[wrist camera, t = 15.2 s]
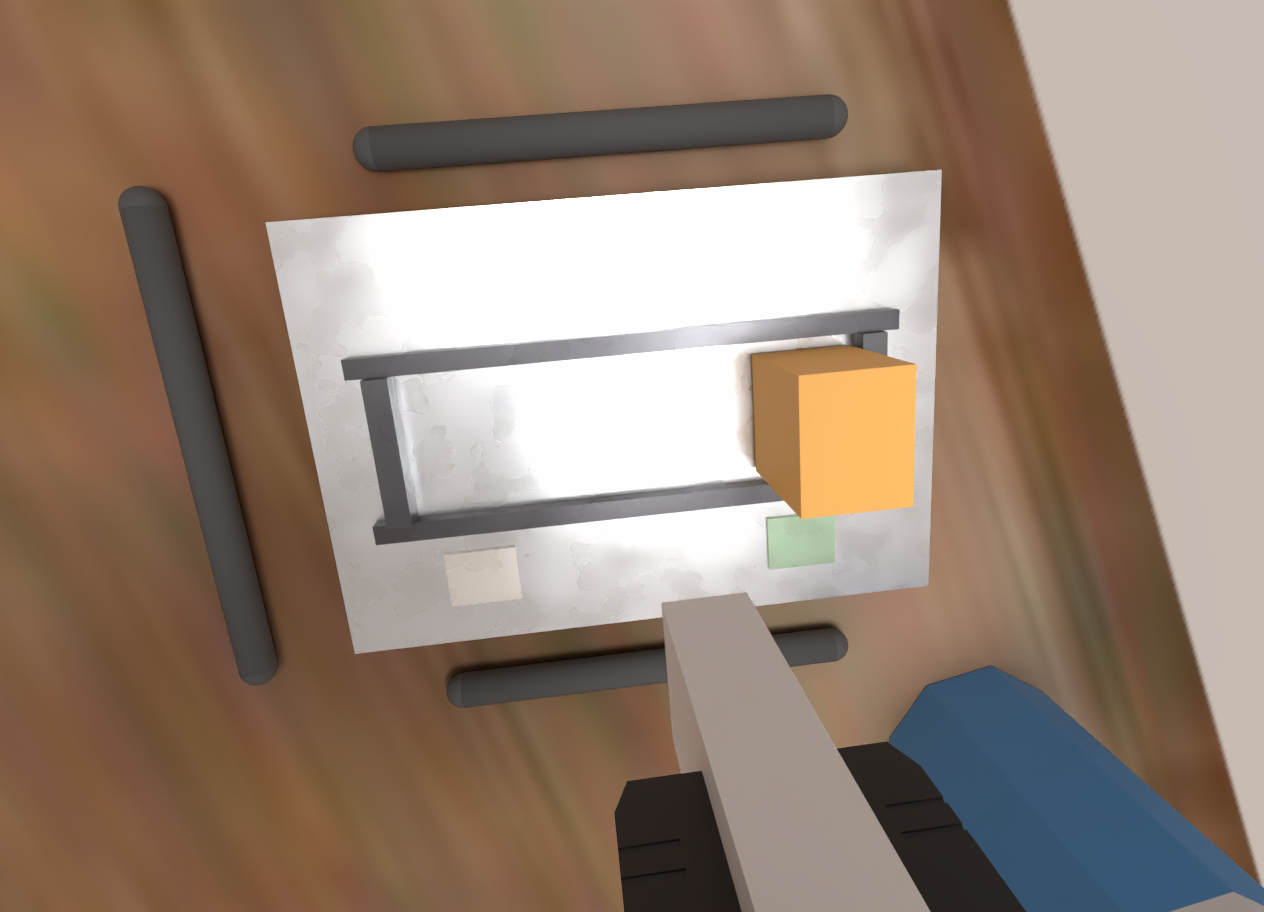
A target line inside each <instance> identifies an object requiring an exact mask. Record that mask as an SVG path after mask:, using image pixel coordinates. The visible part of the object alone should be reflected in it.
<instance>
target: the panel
mask: <svg viewBox="0 0 1264 912" xmlns="http://www.w3.org/2000/svg"><path fill="white" fill-rule="evenodd" d="M941 176H942V170H932V171H919V172H907V173H894V174H881V175H868V176H855V177H842V178H830V179H817V180H804V181H791V182H778V183H765V184H753V185H740V186H727V187H714V188H701V189H688V190H676V191H663V192H650V193H637V194H624V195H611V196H599V197H586V198H573V199H560V200H547V201H534V202H522V203H509V204H496V205H483V206H470V207H457V208H445V209H432V210H419V211H406V212H393V213H380V214H368V215H355V216H342V217H329V218H316V219H303V220H291V221H278V222H265V223H266V228H267V233H268V237H269V242H270V247H271V252H272V257H273V262H274V266H275V271H276V276H277V281H278V286H279V290H280V295H281V300H282V305H283V310H284V315H285V319H286V324H287V329H288V334H289V339H290V343H291V348H292V353H293V358H294V363H295V368H296V372H297V377H298V382H299V387H300V392H301V396H302V401H303V406H304V411H305V416H306V421H307V425H308V430H309V435H310V440H311V445H312V449H313V454H314V459H315V464H316V469H317V473H318V478H319V483H320V488H321V493H322V498H323V502H324V507H325V512H326V517H327V522H328V526H329V531H330V536H331V541H332V546H333V551H334V555H335V560H336V565H337V570H338V575H339V579H340V584H341V589H342V594H343V599H344V604H345V608H346V613H347V618H348V623H349V628H350V632H351V637H352V642H353V647H354V652H355V654H358V653H367V652H375V651H383V650H392V649H400V648H409V647H417V646H425V645H434V644H442V643H451V642H459V641H467V640H476V639H484V638H493V637H501V636H509V635H518V634H526V633H535V632H543V631H551V630H560V629H568V628H577V627H585V626H593V625H602V624H610V623H618V622H627V621H635V620H644V619H652V618H660V617H663V616H662V604H661V603H663V602H671V601H679V600H687V599H695V598H703V597H711V596H719V595H727V594H735V593H743V592H747V594H748V595H749V597H750V599H751V601H752V602H753V604H754V606H761V605H770V604H778V603H786V602H795V601H803V600H812V599H820V598H828V597H837V596H845V595H853V594H862V593H870V592H879V591H887V590H895V589H904V588H912V587H921V586H928V579H929V548H930V517H931V486H932V455H933V424H934V393H935V362H936V331H937V300H938V269H939V238H940V207H941ZM839 345H850V346H853V347H857V348H861V349H864V350H868V351H871V352H875V353H879V354H882V355H886V356H889V357H893V358H896V359H900V360H904V361H907V362H911V363H914V364H917V375H916V414H915V454H914V494H913V507H907V508H898V509H889V510H880V511H871V512H862V513H853V514H844V515H835V516H826V517H817V518H808V519H801V518H800V517H799V516H798V515H797V514H796V513H795V512H794V511H793V510H792V509H791V508H790V507H789V506H788V505H787V503H786V502H785V501H784V500H783V499H782V498H781V497H780V496H779V495H778V494H777V493H776V492H775V491H774V490H773V489H772V487H771V486H770V485H769V484H768V483H767V482H766V481H765V480H764V479H763V478H762V477H761V476H760V475H759V474H758V473H757V471H756V457H755V429H754V402H753V375H752V354H754V353H765V352H775V351H786V350H797V349H807V348H818V347H828V346H839Z"/></svg>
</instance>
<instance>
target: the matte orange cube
mask: <svg viewBox="0 0 1264 912" xmlns="http://www.w3.org/2000/svg"><path fill="white" fill-rule="evenodd" d="M752 375H753V402H754V429H755V457H756V471H757V473H758V474H759V475H760V476H761V477H762V478H763V479H764V480H765V481H766V482H767V483H768V484H769V485H770V486H771V487H772V489H773V490H774V491H775V492H776V493H777V494H778V495H779V496H780V497H781V498H782V499H783V500H784V501H785V502H786V503H787V505H788V506H789V507H790V508H791V509H792V510H793V511H794V512H795V513H796V514H797V515H798V516H799V517H800V518H801V519H808V518H817V517H826V516H835V515H844V514H853V513H862V512H871V511H880V510H889V509H898V508H907V507H913V494H914V454H915V414H916V375H917V364H914V363H911V362H907V361H904V360H900V359H896V358H893V357H889V356H886V355H882V354H879V353H875V352H871V351H868V350H864V349H861V348H857V347H853V346H850V345H839V346H828V347H818V348H807V349H797V350H786V351H775V352H765V353H754V354H752Z"/></svg>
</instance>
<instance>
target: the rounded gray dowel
mask: <svg viewBox="0 0 1264 912" xmlns="http://www.w3.org/2000/svg"><path fill="white" fill-rule="evenodd" d="M118 205H119V211H120V215H121V219H122V223H123V227H124V230H125V234H126V238H127V242H128V246H129V250H130V254H131V257H132V261H133V265H134V269H135V273H136V277H137V281H138V285H139V288H140V292H141V296H142V300H143V304H144V308H145V312H146V316H147V319H148V323H149V327H150V331H151V335H152V339H153V343H154V346H155V350H156V354H157V358H158V362H159V366H160V370H161V374H162V377H163V381H164V385H165V389H166V393H167V397H168V401H169V405H170V408H171V412H172V416H173V420H174V424H175V428H176V432H177V435H178V439H179V443H180V447H181V451H182V455H183V459H184V463H185V466H186V470H187V474H188V478H189V482H190V486H191V490H192V494H193V497H194V501H195V505H196V509H197V513H198V517H199V521H200V524H201V528H202V532H203V536H204V540H205V544H206V548H207V552H208V555H209V559H210V563H211V567H212V571H213V575H214V579H215V583H216V586H217V590H218V594H219V598H220V602H221V606H222V610H223V613H224V617H225V621H226V625H227V629H228V633H229V637H230V641H231V644H232V648H233V652H234V656H235V660H236V664H237V668H238V672H239V675H240V677H241V678H242V680H243V681H244V682H246V683H248V684H250V685H261V684H264V683H266V682H268V681H269V680H271V679H272V678H273V677H274V675H275V673H276V671H277V668H278V661H277V657H276V653H275V649H274V645H273V641H272V636H271V632H270V628H269V624H268V620H267V616H266V612H265V607H264V603H263V599H262V595H261V591H260V587H259V582H258V578H257V574H256V570H255V566H254V562H253V558H252V553H251V549H250V545H249V541H248V537H247V533H246V529H245V524H244V520H243V516H242V512H241V508H240V504H239V499H238V495H237V491H236V487H235V483H234V479H233V475H232V470H231V466H230V462H229V458H228V454H227V450H226V446H225V441H224V437H223V433H222V429H221V425H220V421H219V416H218V412H217V408H216V404H215V400H214V396H213V392H212V387H211V383H210V379H209V375H208V371H207V367H206V362H205V358H204V354H203V350H202V346H201V342H200V338H199V333H198V329H197V325H196V321H195V317H194V313H193V309H192V304H191V300H190V296H189V292H188V288H187V284H186V279H185V275H184V271H183V267H182V263H181V259H180V255H179V250H178V246H177V242H176V238H175V234H174V230H173V225H172V221H171V217H170V213H169V209H168V206H167V203H166V201H165V199H164V198H163V197H162V196H161V195H160V194H159V193H158V192H156V191H155V190H153V189H151V188H148V187H144V186H134V187H130V188H128V189H126V190H125V191H124V192H123V193H122V194H121V196H120V198H119V203H118Z"/></svg>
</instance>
